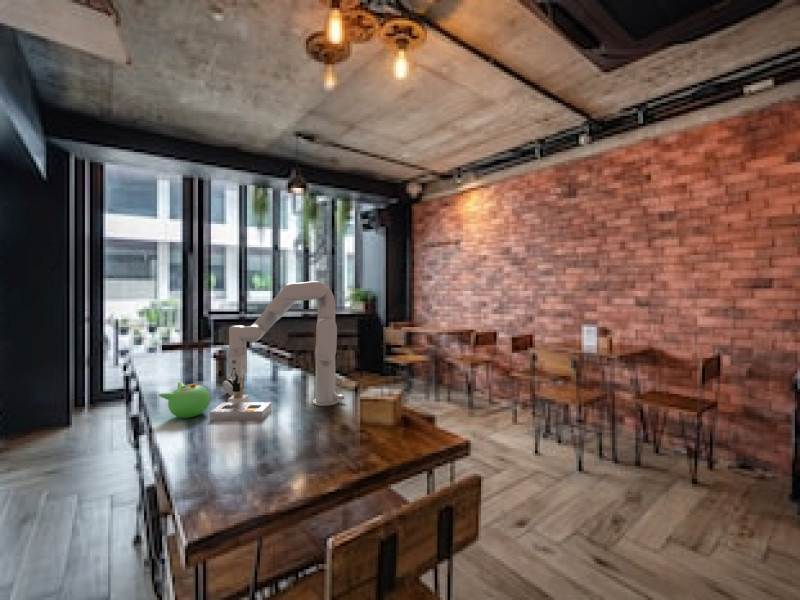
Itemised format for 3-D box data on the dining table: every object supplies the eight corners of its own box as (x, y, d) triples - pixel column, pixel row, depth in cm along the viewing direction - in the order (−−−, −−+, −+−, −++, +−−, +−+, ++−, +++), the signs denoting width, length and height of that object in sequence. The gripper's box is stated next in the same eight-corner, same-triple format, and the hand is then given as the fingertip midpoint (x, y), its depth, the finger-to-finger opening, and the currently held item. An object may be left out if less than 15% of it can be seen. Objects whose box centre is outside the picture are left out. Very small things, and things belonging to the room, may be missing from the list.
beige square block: (248, 405, 200) (248, 394, 200) (243, 409, 194) (243, 398, 193) (233, 405, 200) (233, 394, 200) (228, 409, 193) (228, 398, 193)
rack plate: (271, 410, 191) (271, 401, 191) (262, 420, 177) (262, 411, 177) (222, 411, 191) (222, 402, 191) (209, 421, 177) (209, 411, 177)
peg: (244, 395, 199) (243, 374, 198) (241, 397, 195) (240, 376, 194) (235, 395, 199) (235, 374, 198) (232, 398, 195) (232, 376, 194)
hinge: (246, 398, 213) (239, 380, 211) (237, 402, 210) (230, 385, 208) (236, 391, 226) (229, 375, 224) (227, 395, 224) (220, 379, 221)
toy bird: (198, 423, 174) (197, 388, 174) (157, 423, 174) (157, 388, 174) (216, 410, 192) (216, 378, 192) (180, 410, 192) (179, 378, 192)
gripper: (239, 354, 188) (240, 394, 188) (251, 349, 204) (251, 386, 205) (222, 354, 188) (223, 395, 188) (236, 349, 204) (236, 386, 205)
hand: (238, 389), depth 197 cm, fingers closed on peg, 4 cm apart
